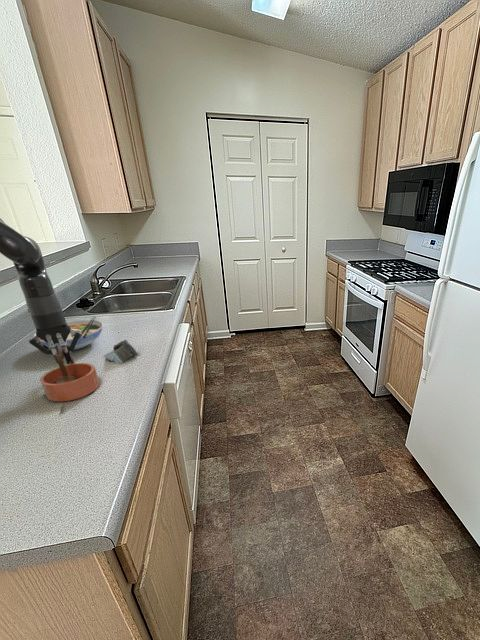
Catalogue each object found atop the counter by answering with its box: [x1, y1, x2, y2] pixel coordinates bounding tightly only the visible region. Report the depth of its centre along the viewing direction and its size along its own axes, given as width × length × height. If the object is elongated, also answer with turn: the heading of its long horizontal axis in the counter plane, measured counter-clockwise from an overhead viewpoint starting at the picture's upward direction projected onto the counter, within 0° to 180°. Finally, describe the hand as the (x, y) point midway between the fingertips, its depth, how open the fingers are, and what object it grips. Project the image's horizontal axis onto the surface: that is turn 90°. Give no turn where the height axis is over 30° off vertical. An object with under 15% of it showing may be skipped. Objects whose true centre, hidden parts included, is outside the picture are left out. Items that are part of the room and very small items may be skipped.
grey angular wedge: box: [105, 339, 138, 364], centre depth 119 cm, size 10×7×12 cm
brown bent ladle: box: [54, 340, 76, 384], centre depth 103 cm, size 18×5×10 cm, turn 27°
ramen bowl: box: [33, 316, 104, 352], centre depth 128 cm, size 25×23×8 cm
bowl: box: [39, 362, 100, 403], centre depth 99 cm, size 14×14×6 cm
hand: (65, 363), depth 103 cm, fingers closed on brown bent ladle, 1 cm apart
